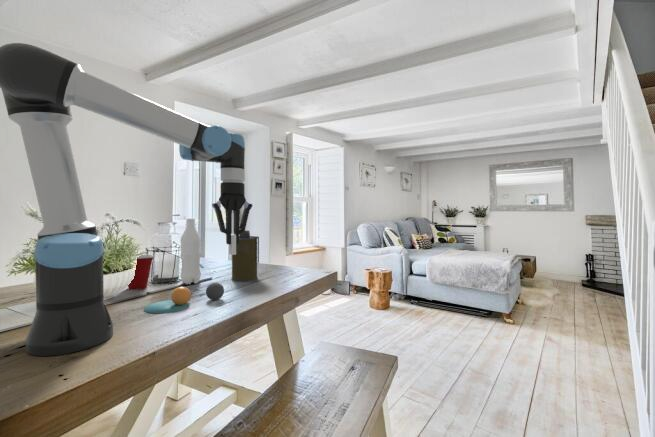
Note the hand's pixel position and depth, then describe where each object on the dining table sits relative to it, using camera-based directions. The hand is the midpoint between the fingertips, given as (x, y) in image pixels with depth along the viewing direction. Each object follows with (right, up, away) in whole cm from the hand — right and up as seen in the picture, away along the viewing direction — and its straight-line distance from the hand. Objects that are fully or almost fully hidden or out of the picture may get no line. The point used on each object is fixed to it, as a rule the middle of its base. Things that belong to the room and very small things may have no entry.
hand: (232, 254), depth 105 cm
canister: (-3, -14, +27) cm, 30 cm away
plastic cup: (-38, -14, +11) cm, 42 cm away
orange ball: (-13, -12, -8) cm, 20 cm away
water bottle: (-22, -14, +19) cm, 32 cm away
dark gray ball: (-5, -12, -3) cm, 13 cm away
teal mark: (-17, -15, -10) cm, 24 cm away
